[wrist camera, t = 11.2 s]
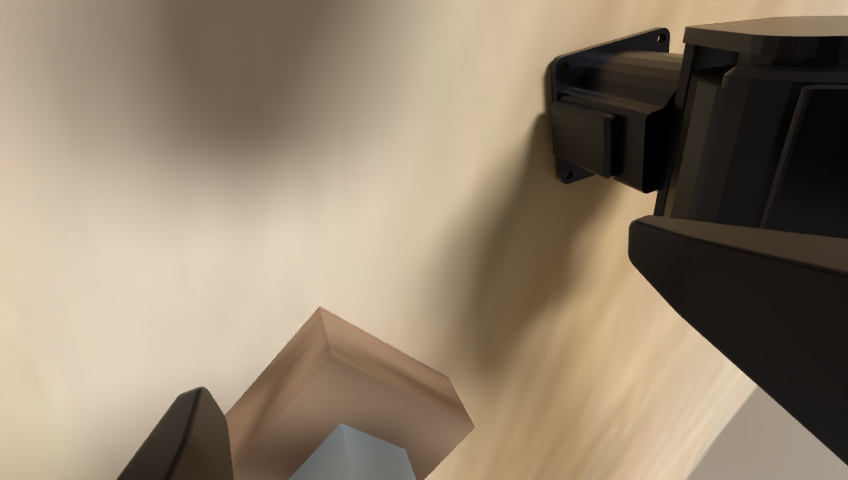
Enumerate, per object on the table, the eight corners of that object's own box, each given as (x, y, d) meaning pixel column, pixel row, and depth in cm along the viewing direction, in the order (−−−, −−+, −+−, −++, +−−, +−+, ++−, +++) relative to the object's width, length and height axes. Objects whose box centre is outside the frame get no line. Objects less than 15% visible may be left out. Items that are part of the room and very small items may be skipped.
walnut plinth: (319, 306, 23) (331, 357, 20) (447, 377, 28) (474, 427, 25) (202, 442, 24) (194, 511, 21) (345, 486, 30) (358, 548, 26)
